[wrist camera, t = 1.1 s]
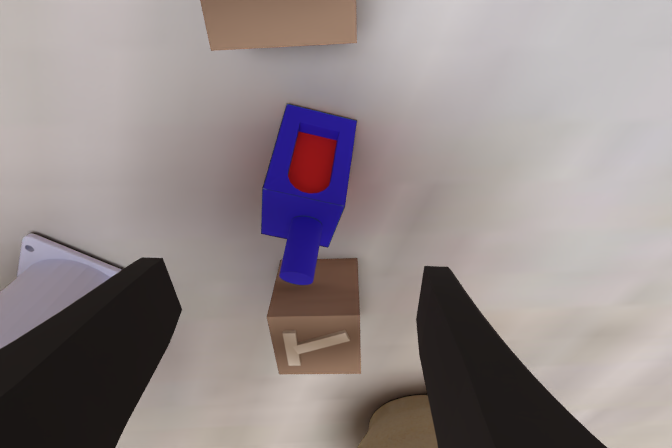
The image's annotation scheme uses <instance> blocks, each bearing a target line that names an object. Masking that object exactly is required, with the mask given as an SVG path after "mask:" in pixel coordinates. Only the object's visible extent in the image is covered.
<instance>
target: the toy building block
mask: <svg viewBox="0 0 672 448" xmlns="http://www.w3.org/2000/svg"><path fill="white" fill-rule="evenodd" d="M356 123H357V120H352V119H348V118H344V117H340V116H336V115H332V114H328V113H324V112H320V111H315V110H311V109H307V108H303V107H299V106H295V105H291V104H287V105H286V108H285V112H284V115H283V119H282V122H281V126H280V129H279V133H278V136H277V140H276V143H275V147H274V150H273V153H272V157H271V160H270V164H269V167H268V171H267V174H266V178H265V181H264V185H263V188H262V222H261V234H265V235H269V236H274V237H279V238H284V239H287V242H286V247H285V251H284V256H283V260H282V265H281V269H280V274H279V277H280V278H281V279H282V280H284V281H285V282H288V283H291V284H296V285H309V284H312V283H313V280H314V274H315V268H316V262H317V257H318V251H319V246H323V247H329V244H330V242H331V239H332V237H333V234H334V232H335V230H336V227H337V225H338V222H339V220H340V217H341V215H342V212H343V210H344V208H345V202H346V195H347V188H348V181H349V174H350V166H351V159H352V152H353V145H354V138H355V131H356Z"/></svg>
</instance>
